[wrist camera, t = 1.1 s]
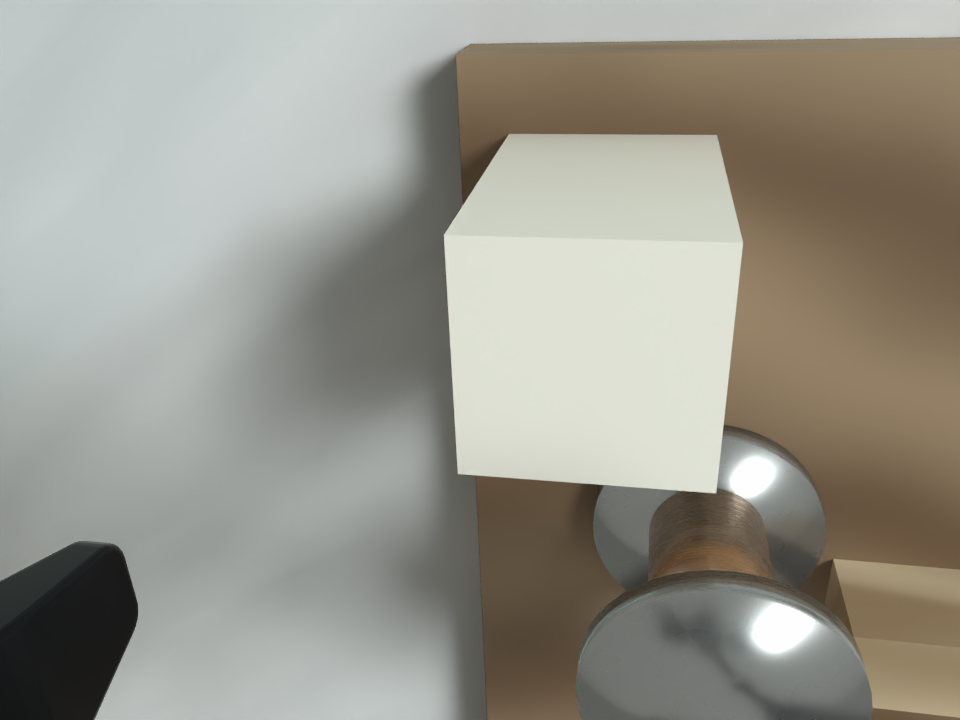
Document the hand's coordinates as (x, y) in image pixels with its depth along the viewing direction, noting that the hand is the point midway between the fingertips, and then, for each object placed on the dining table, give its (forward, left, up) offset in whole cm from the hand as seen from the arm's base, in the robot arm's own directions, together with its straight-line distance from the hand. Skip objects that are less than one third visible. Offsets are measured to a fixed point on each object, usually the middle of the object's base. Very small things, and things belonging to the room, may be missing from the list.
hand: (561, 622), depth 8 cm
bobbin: (-7, -2, -11) cm, 13 cm away
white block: (0, 0, -11) cm, 11 cm away
